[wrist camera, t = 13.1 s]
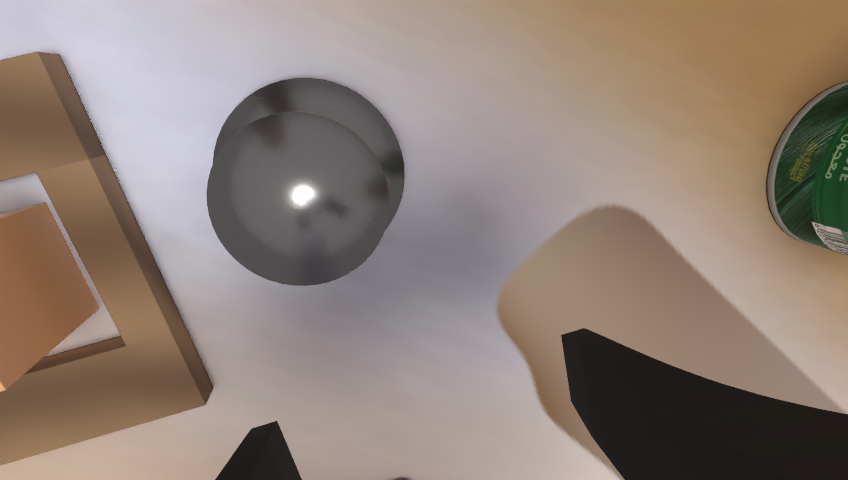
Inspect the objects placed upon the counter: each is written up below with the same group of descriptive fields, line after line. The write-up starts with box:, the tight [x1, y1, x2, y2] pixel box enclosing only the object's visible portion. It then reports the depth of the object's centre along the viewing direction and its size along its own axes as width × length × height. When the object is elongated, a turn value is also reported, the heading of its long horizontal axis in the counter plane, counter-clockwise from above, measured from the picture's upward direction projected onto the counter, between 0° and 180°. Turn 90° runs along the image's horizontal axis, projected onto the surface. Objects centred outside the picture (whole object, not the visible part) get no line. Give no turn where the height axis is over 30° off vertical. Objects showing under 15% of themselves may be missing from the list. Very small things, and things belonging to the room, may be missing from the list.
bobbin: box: [207, 78, 404, 286], centre depth 16 cm, size 7×7×6 cm
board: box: [0, 52, 213, 465], centre depth 17 cm, size 14×9×1 cm, turn 13°
